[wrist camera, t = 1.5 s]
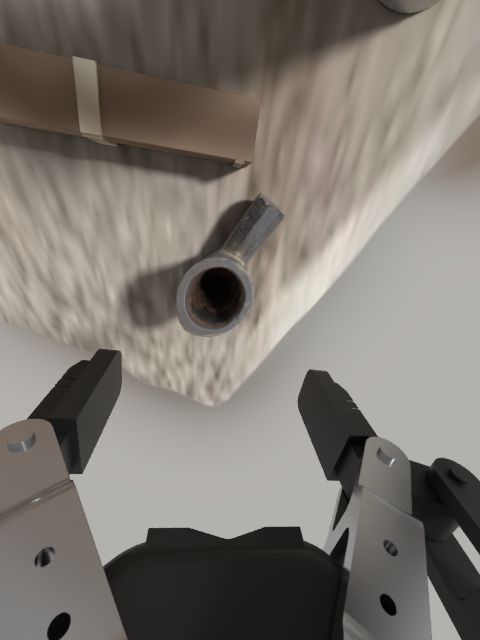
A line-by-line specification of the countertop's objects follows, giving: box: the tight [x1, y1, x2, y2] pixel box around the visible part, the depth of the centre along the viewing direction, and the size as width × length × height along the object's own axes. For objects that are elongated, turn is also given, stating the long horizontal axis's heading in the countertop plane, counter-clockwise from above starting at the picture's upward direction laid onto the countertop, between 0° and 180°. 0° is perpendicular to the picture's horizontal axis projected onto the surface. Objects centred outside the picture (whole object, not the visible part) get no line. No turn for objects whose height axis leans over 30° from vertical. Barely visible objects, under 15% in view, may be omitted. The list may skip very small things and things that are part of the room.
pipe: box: [176, 193, 285, 337], centre depth 24 cm, size 6×13×8 cm, turn 143°
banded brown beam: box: [0, 43, 261, 168], centre depth 20 cm, size 4×20×4 cm, turn 82°
